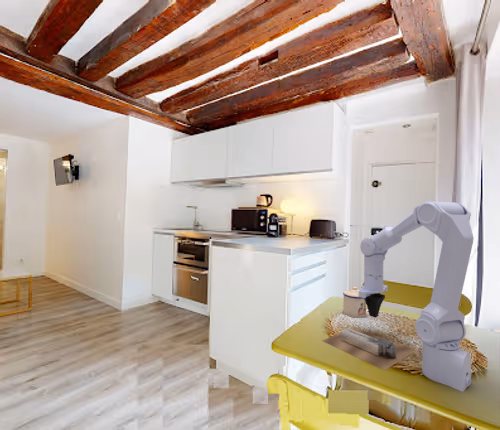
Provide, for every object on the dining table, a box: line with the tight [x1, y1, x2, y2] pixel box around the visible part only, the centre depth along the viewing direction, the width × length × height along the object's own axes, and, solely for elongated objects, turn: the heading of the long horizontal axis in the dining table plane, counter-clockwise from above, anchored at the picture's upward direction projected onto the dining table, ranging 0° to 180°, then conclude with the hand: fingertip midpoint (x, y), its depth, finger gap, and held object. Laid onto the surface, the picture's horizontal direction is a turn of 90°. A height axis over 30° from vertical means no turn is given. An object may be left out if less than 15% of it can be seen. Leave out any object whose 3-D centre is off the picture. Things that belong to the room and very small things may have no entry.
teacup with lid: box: [342, 285, 367, 319], centre depth 111 cm, size 12×9×12 cm
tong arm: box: [344, 327, 396, 359], centre depth 80 cm, size 15×3×3 cm, turn 36°
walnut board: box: [321, 327, 417, 371], centre depth 82 cm, size 20×18×1 cm
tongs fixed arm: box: [340, 328, 394, 356], centre depth 80 cm, size 14×3×4 cm, turn 36°
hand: (373, 316), depth 88 cm, fingers closed
